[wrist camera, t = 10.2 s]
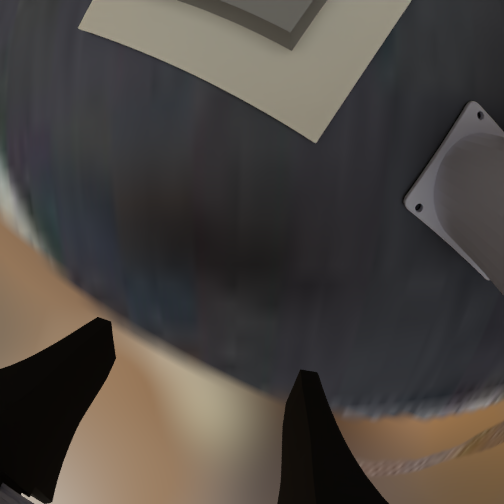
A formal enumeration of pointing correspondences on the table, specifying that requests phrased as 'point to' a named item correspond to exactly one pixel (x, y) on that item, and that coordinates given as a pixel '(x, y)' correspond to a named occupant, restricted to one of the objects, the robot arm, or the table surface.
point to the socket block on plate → (259, 47)
